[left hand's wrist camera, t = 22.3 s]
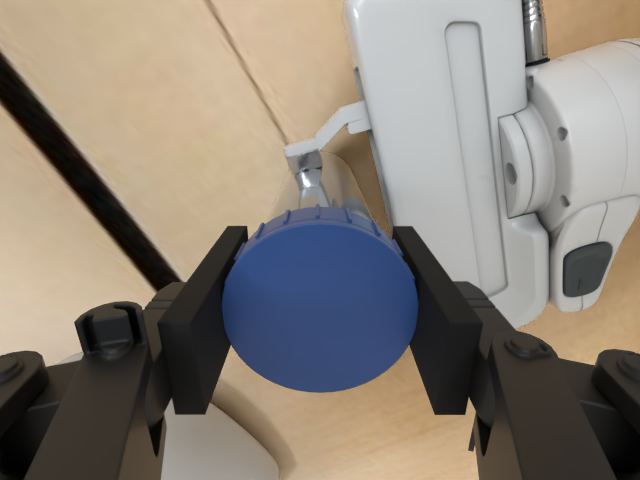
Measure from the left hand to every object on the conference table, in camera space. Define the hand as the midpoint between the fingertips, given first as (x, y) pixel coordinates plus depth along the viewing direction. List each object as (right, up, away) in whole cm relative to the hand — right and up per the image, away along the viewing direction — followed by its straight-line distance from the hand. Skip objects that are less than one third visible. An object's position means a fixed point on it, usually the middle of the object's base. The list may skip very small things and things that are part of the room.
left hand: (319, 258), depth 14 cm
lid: (0, -1, -4) cm, 4 cm away
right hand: (-1, +2, +6) cm, 7 cm away
